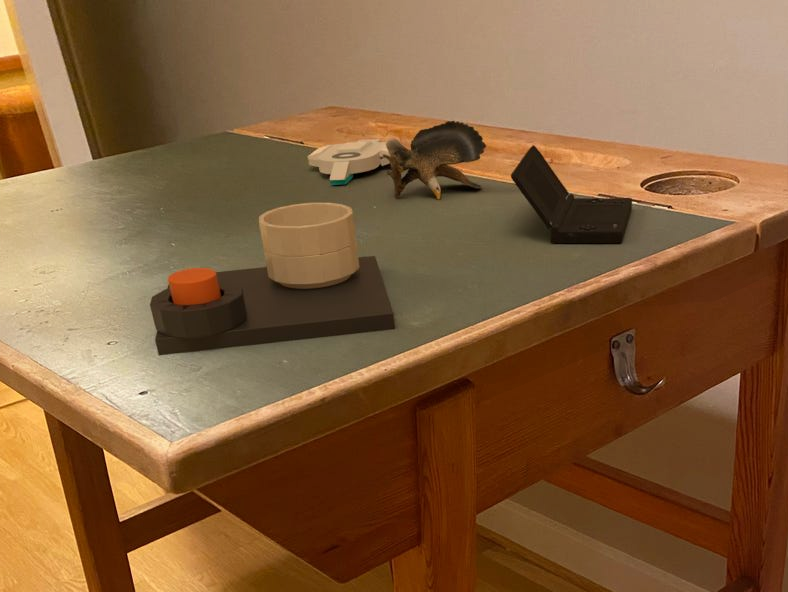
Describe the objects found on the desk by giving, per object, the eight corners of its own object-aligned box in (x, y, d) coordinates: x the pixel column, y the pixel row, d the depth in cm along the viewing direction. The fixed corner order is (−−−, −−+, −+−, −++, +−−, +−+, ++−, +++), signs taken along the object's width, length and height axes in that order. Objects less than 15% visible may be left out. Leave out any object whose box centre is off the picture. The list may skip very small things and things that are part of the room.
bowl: (269, 295, 74) (258, 231, 71) (269, 268, 79) (258, 207, 76) (363, 285, 74) (355, 221, 72) (356, 259, 80) (349, 198, 77)
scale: (157, 359, 68) (146, 315, 66) (172, 292, 79) (163, 252, 78) (395, 333, 69) (391, 288, 68) (376, 270, 81) (372, 231, 79)
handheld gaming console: (648, 220, 82) (572, 114, 79) (578, 279, 85) (501, 180, 82) (636, 205, 93) (568, 111, 89) (574, 259, 95) (505, 169, 92)
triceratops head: (408, 198, 95) (496, 166, 96) (379, 123, 94) (467, 92, 95) (401, 226, 102) (482, 197, 103) (373, 157, 101) (455, 128, 103)
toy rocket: (330, 153, 118) (327, 132, 117) (412, 151, 117) (410, 129, 116) (290, 187, 106) (287, 163, 104) (381, 185, 104) (379, 161, 103)
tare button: (172, 311, 68) (165, 284, 66) (175, 296, 70) (169, 270, 69) (220, 305, 68) (215, 279, 67) (222, 291, 70) (216, 265, 69)
